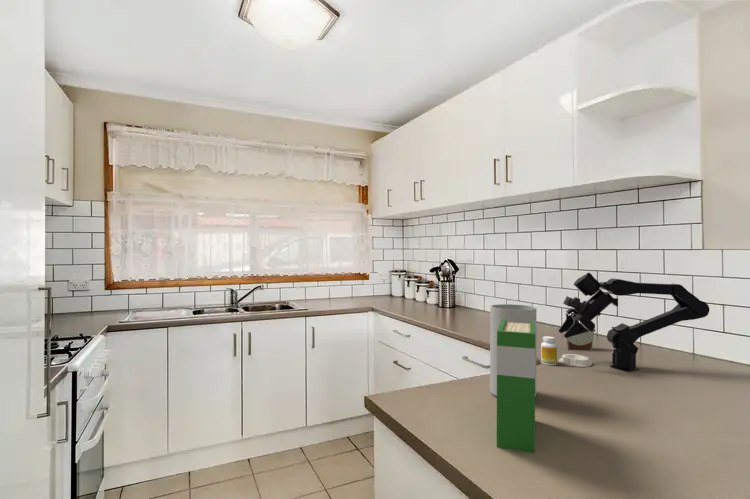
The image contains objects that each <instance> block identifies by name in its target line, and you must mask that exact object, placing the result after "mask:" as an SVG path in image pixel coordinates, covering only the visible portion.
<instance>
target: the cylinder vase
mask: <svg viewBox="0 0 750 499" xmlns="http://www.w3.org/2000/svg"><path fill="white" fill-rule="evenodd" d="M489 311H490V312H489V314H490V316H489V318H490V319H489V321H490V325H489V326H490V327H489V330H490V331H489V332H490V333H489V338H490V339H489V340H490V341H489V342H490V343H489V344H490V345H489V346H490V347H489V348H490V349H489V352H490V353H489V362H490V363H489V365H490V366H489V372H490V373H489V391H490V393H491V394H492V396H495V397H496V398H497V330H498V328H499V325H500V323H501V321H502V319H506V322H510V323H527V324H530V321H534V325H535V398H536V396H537V307H536V306H531V305H524V304H508V303H507V304H504V303H502V304H491V305H490V310H489Z"/></svg>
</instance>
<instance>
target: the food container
mask: <svg viewBox="0 0 750 499" xmlns="http://www.w3.org/2000/svg"><path fill="white" fill-rule="evenodd" d="M587 330H588V329H587ZM588 331H589V330H588ZM566 332H567V331H565V333H566ZM595 333H597V332H596V328H594V329H593V330H592V331H589V332H585V333H581V334H578V335H574V336H571V337H568V338H566V347H567V351H569V350H579V351H578V352H592V351H593V347H594V346H593V345H594V335H595Z"/></svg>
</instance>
